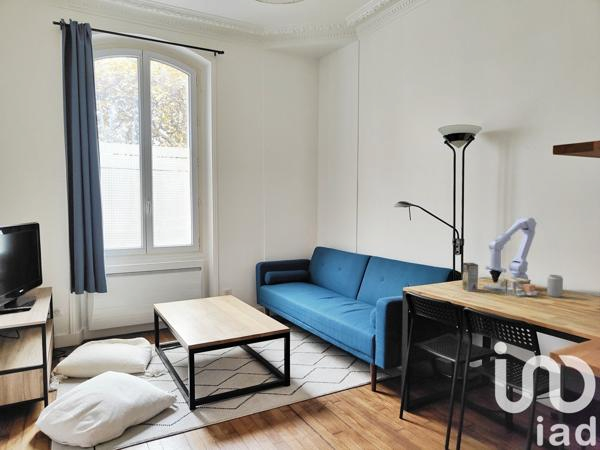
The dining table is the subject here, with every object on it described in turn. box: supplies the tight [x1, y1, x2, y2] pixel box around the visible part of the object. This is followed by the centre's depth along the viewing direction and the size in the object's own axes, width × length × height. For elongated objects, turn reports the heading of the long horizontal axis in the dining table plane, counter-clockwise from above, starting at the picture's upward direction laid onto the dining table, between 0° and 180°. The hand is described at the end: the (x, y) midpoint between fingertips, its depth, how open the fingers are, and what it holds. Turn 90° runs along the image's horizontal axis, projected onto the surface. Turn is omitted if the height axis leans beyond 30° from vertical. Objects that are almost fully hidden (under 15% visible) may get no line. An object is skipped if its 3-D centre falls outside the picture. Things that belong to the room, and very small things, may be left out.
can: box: [546, 274, 564, 298], centre depth 241 cm, size 8×8×12 cm
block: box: [522, 283, 536, 293], centre depth 241 cm, size 4×4×4 cm
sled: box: [498, 280, 538, 296], centre depth 248 cm, size 5×22×4 cm, turn 21°
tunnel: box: [503, 278, 531, 293], centre depth 248 cm, size 13×7×7 cm, turn 111°
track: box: [482, 283, 539, 298], centre depth 253 cm, size 14×27×2 cm, turn 21°
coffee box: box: [461, 262, 479, 292], centre depth 258 cm, size 9×6×16 cm
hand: (495, 282), depth 263 cm, fingers closed
